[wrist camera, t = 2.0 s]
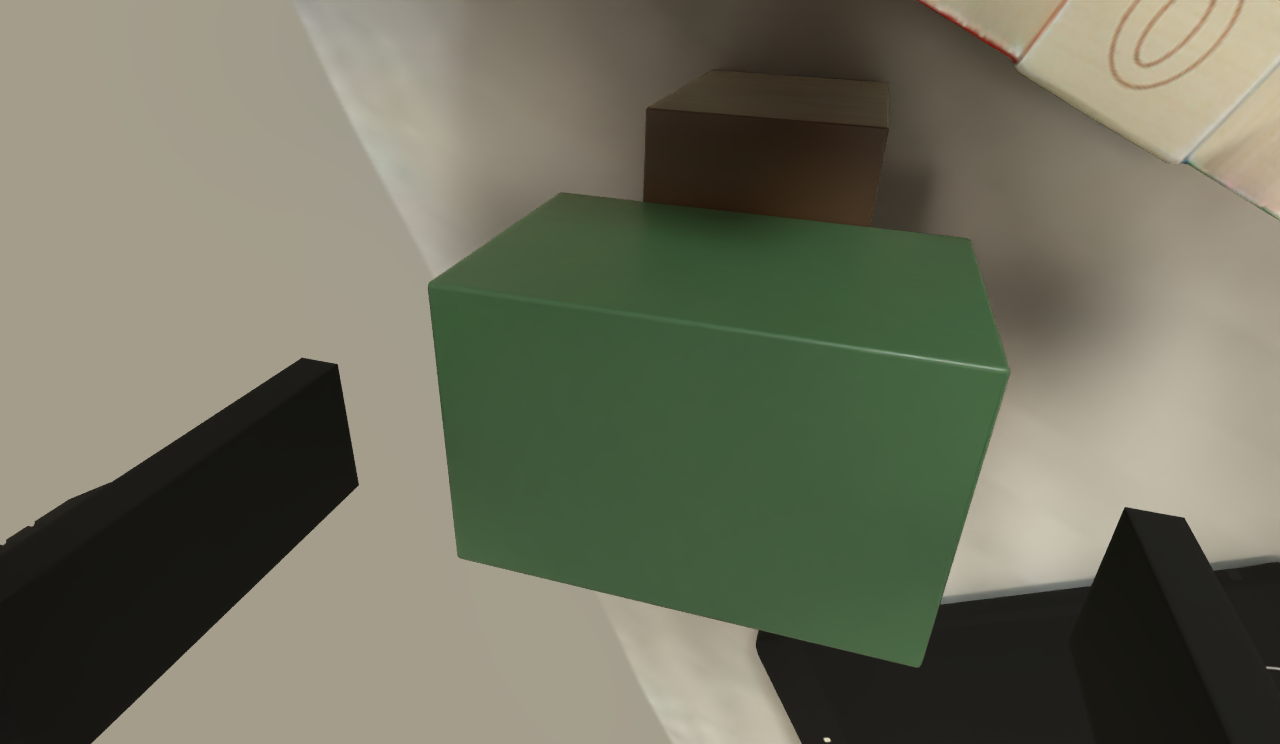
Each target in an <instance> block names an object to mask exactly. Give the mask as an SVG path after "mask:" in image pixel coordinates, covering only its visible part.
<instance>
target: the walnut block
mask: <svg viewBox="0 0 1280 744" xmlns="http://www.w3.org/2000/svg"><path fill="white" fill-rule="evenodd" d="M888 130H889V108H888V83H887V82H874V81H859V80H845V79H831V78H816V77H802V76H788V75H773V74H759V73H744V72H730V71H716V70H712V71H710V72H708V73H706V74H705V75H703V76H701V77H699V78H698V79H696V80H694V81H693V82H691V83H689V84H687V85H686V86H684V87H682V88H681V89H679V90H677V91H675V92H674V93H672V94H670V95H669V96H667V97H665V98H663V99H662V100H660V101H658V102H656V103H655V104H653V105H651V106H650V107H648V108H647V109H646V129H645V159H644V188H643V202H651V203H660V204H669V205H677V206H686V207H695V208H704V209H713V210H722V211H731V212H740V213H748V214H757V215H766V216H775V217H784V218H793V219H802V220H811V221H819V222H828V223H837V224H846V225H855V226H864V227H871V223H872V217H873V212H874V207H875V201H876V196H877V190H878V185H879V179H880V174H881V168H882V163H883V158H884V152H885V147H886V141H887V136H888Z"/></svg>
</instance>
